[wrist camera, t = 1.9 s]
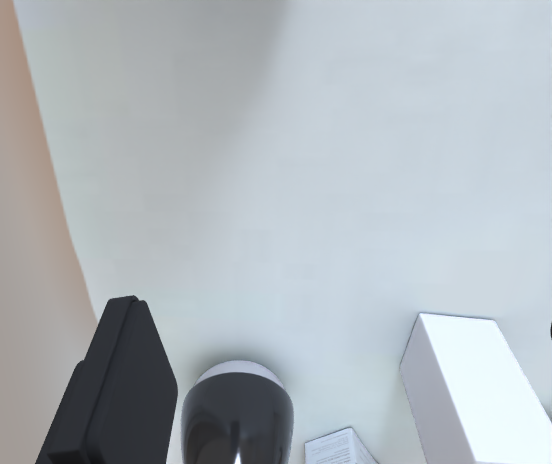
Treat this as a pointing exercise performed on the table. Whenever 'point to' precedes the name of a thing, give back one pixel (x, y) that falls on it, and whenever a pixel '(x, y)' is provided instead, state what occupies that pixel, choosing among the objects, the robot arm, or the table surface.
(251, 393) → the pump dispenser
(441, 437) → the milk carton
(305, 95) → the table surface
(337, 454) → the cosmetic box
